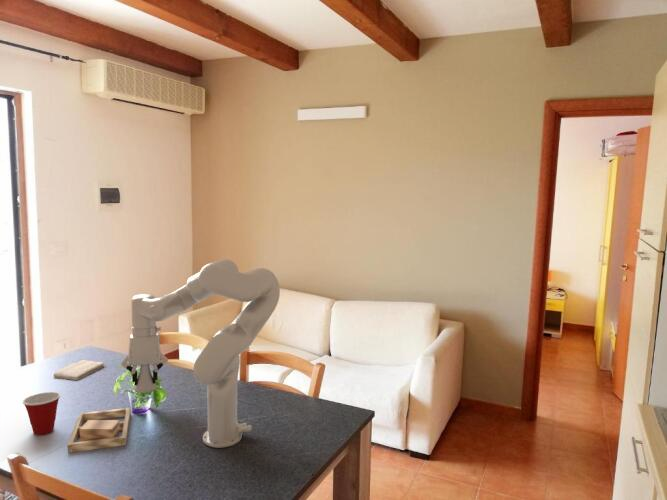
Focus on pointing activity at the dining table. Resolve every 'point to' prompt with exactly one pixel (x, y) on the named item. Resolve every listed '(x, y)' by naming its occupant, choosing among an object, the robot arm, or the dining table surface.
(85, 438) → the offcut lower
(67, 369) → the washcloth
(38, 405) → the plastic cup
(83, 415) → the wooden tray
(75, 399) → the dining table surface
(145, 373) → the flask
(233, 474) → the dining table surface
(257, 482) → the dining table surface
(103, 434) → the offcut upper
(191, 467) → the dining table surface
